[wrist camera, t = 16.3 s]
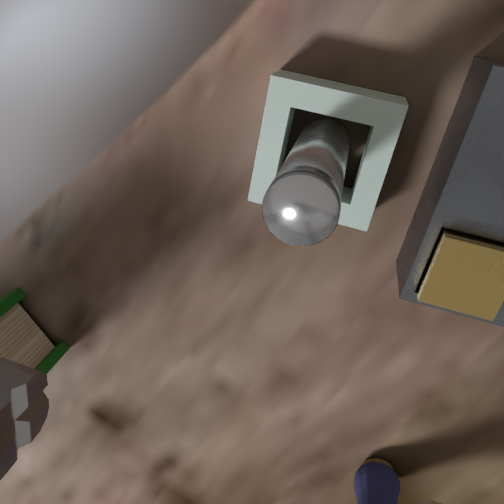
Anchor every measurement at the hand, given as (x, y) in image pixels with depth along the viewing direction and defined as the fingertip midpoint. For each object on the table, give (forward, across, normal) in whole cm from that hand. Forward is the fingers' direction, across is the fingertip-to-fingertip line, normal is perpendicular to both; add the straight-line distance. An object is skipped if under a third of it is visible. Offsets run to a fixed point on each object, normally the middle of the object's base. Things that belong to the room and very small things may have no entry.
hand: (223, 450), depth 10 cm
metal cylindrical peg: (+25, +1, 0) cm, 25 cm away
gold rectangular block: (+25, -10, +4) cm, 27 cm away
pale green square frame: (+25, 0, 0) cm, 25 cm away
